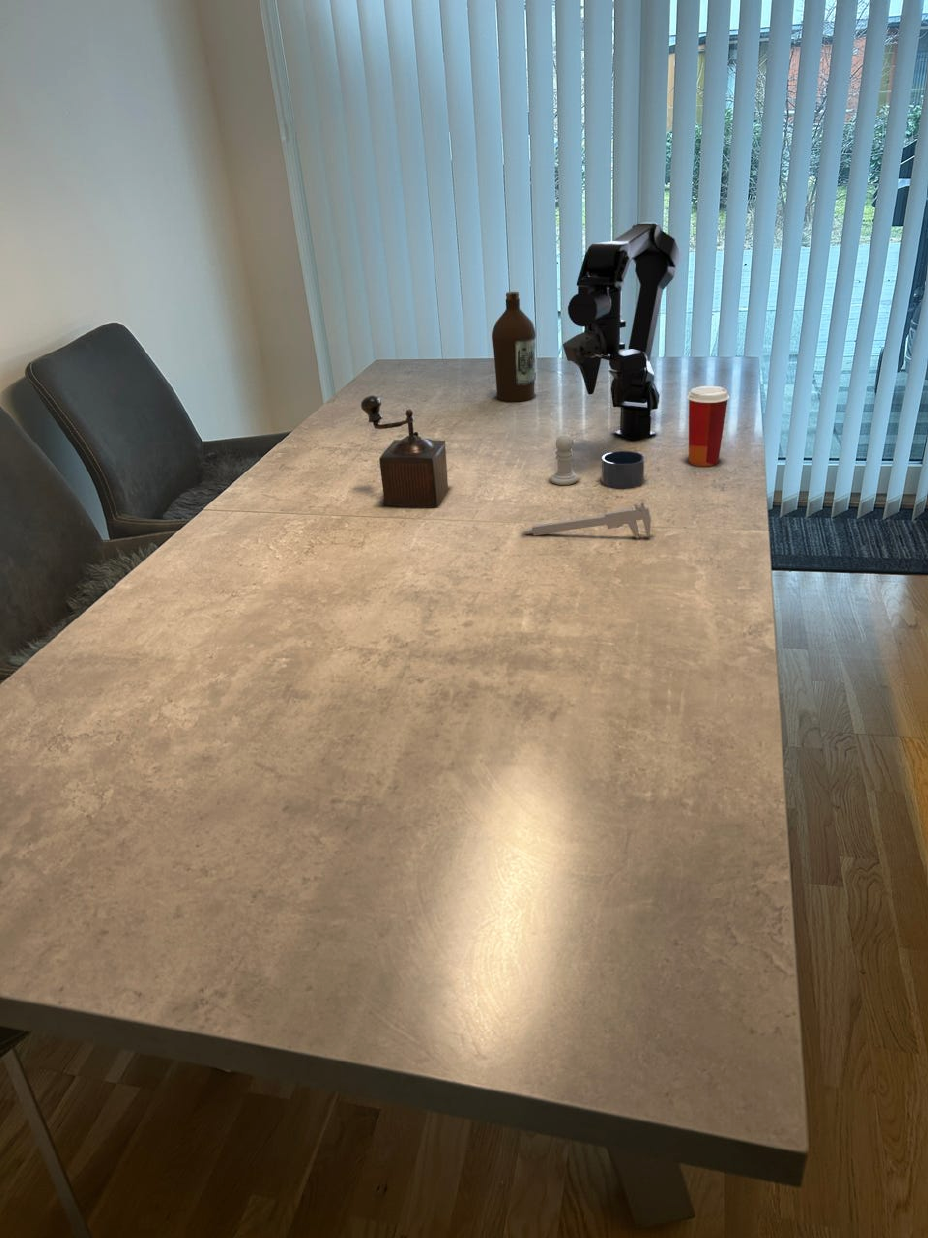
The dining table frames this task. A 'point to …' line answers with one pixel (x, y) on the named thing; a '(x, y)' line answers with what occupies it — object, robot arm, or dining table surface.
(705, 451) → the paper cup
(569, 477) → the chess piece
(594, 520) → the caliper
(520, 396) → the olive oil
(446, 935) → the dining table surface
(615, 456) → the ceramic cup
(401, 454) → the manual coffee grinder
